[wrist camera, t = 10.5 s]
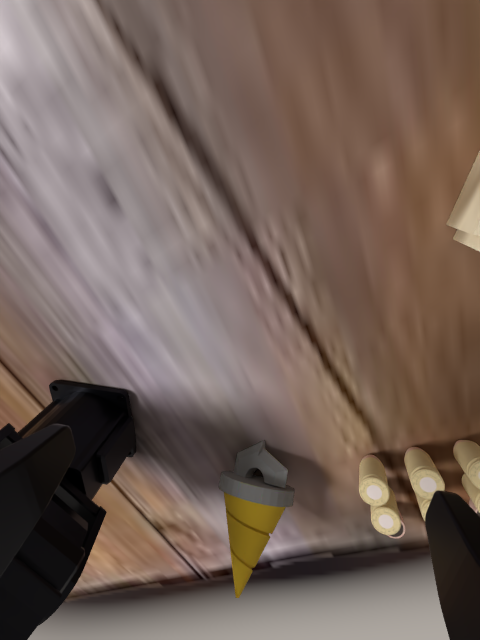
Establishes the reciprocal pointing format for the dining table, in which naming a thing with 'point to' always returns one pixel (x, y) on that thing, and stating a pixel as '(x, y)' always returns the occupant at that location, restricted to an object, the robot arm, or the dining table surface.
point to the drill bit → (253, 507)
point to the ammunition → (415, 484)
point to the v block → (468, 210)
